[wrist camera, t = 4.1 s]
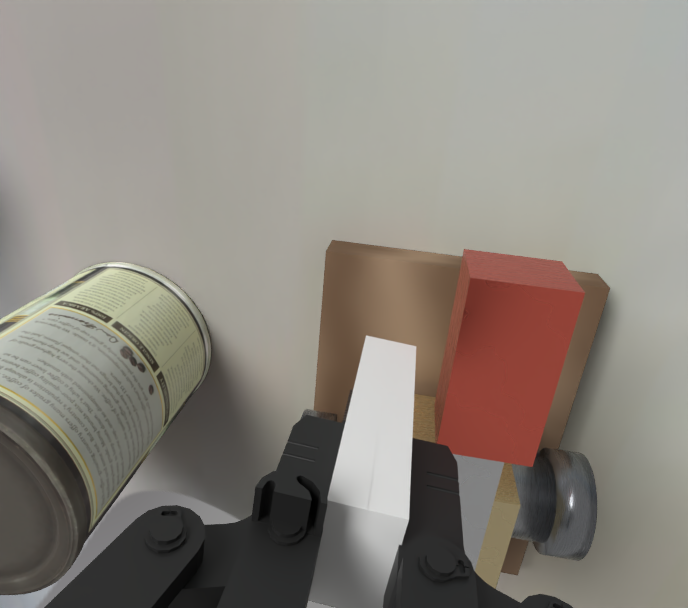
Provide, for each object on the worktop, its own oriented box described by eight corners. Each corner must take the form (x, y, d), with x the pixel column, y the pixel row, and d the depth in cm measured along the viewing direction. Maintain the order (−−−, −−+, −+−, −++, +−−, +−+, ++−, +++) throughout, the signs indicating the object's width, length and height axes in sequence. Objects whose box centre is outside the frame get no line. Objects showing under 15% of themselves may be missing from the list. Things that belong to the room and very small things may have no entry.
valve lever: (468, 620, 21) (473, 681, 19) (391, 604, 22) (387, 663, 19) (569, 262, 15) (593, 293, 13) (457, 248, 15) (462, 276, 13)
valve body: (310, 452, 32) (264, 602, 23) (316, 368, 29) (268, 498, 20) (544, 492, 30) (594, 668, 21) (571, 407, 28) (641, 565, 19)
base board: (310, 513, 36) (304, 535, 35) (332, 240, 28) (326, 251, 26) (512, 549, 35) (517, 575, 33) (597, 274, 27) (610, 288, 25)
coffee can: (187, 429, 35) (50, 631, 22) (46, 365, 35) (-177, 533, 22) (236, 306, 31) (101, 468, 18) (75, 230, 30) (-180, 342, 18)
